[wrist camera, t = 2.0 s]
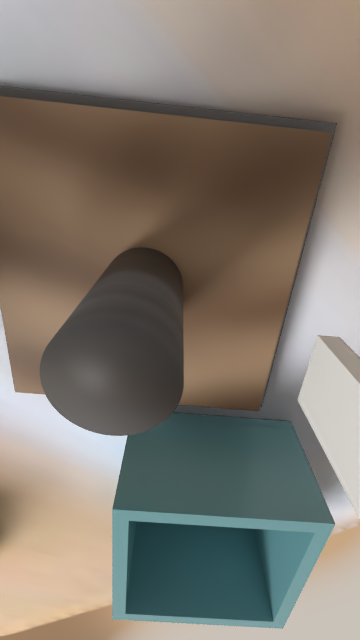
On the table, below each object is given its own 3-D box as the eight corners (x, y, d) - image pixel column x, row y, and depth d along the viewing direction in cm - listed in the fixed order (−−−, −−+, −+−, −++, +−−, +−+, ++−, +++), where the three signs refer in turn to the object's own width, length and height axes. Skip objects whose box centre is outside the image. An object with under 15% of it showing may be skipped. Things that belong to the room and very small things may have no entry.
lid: (-21, 97, 13) (-338, -17, 5) (322, 135, 14) (521, 84, 6) (22, 381, 20) (-89, 528, 12) (255, 400, 20) (304, 553, 12)
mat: (-28, 84, 14) (-36, 82, 13) (331, 124, 14) (336, 123, 14) (19, 382, 20) (15, 387, 20) (259, 401, 21) (261, 406, 21)
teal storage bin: (133, 409, 21) (112, 509, 15) (290, 421, 22) (335, 523, 15) (129, 510, 26) (112, 619, 20) (258, 519, 26) (282, 628, 20)
